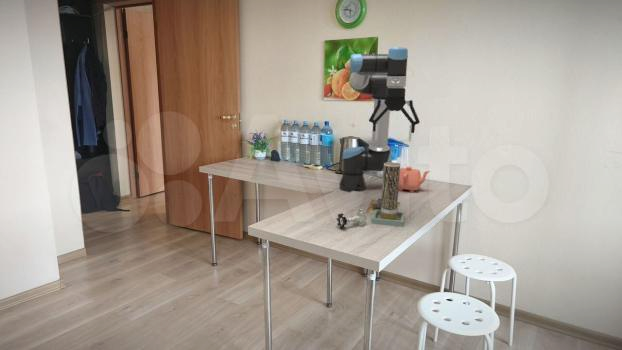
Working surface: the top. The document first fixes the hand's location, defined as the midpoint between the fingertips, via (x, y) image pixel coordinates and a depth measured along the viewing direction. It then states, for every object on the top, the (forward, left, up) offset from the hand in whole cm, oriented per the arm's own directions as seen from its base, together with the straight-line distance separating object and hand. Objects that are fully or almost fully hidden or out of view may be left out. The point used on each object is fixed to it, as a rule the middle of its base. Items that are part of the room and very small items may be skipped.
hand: (392, 140), depth 166 cm
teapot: (+6, +58, -36) cm, 68 cm away
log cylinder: (0, 0, -35) cm, 35 cm away
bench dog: (-4, +10, -35) cm, 36 cm away
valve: (-13, -11, -36) cm, 40 cm away
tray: (0, 0, -36) cm, 36 cm away
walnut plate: (-4, +16, -35) cm, 38 cm away
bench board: (-4, +18, -36) cm, 40 cm away
